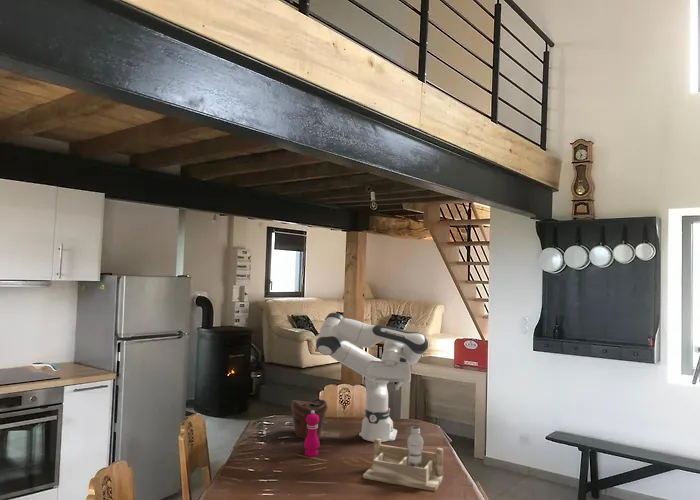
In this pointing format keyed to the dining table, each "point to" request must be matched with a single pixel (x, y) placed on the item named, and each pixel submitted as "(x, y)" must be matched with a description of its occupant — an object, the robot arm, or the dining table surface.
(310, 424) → the magenta pepper grinder
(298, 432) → the brown flower pot
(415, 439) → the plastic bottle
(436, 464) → the wooden compartment rack
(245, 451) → the dining table surface
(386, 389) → the robot arm
